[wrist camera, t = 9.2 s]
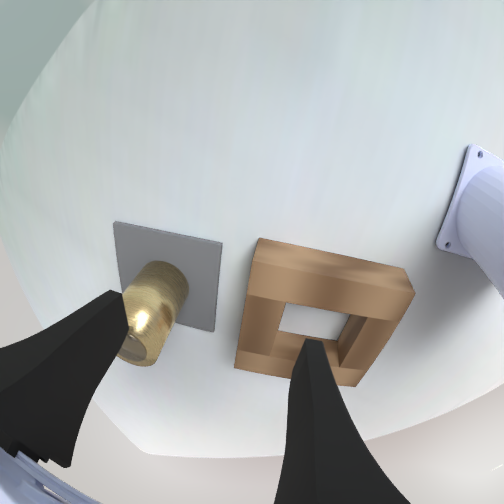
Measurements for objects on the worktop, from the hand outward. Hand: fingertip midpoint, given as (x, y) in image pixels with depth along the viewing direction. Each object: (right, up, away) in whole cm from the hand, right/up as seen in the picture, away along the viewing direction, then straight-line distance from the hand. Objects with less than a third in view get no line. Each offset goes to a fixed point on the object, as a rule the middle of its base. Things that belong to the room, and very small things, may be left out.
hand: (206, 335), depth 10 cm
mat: (-5, +1, +12) cm, 14 cm away
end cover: (-5, +1, +12) cm, 13 cm away
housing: (+7, -2, +12) cm, 14 cm away
